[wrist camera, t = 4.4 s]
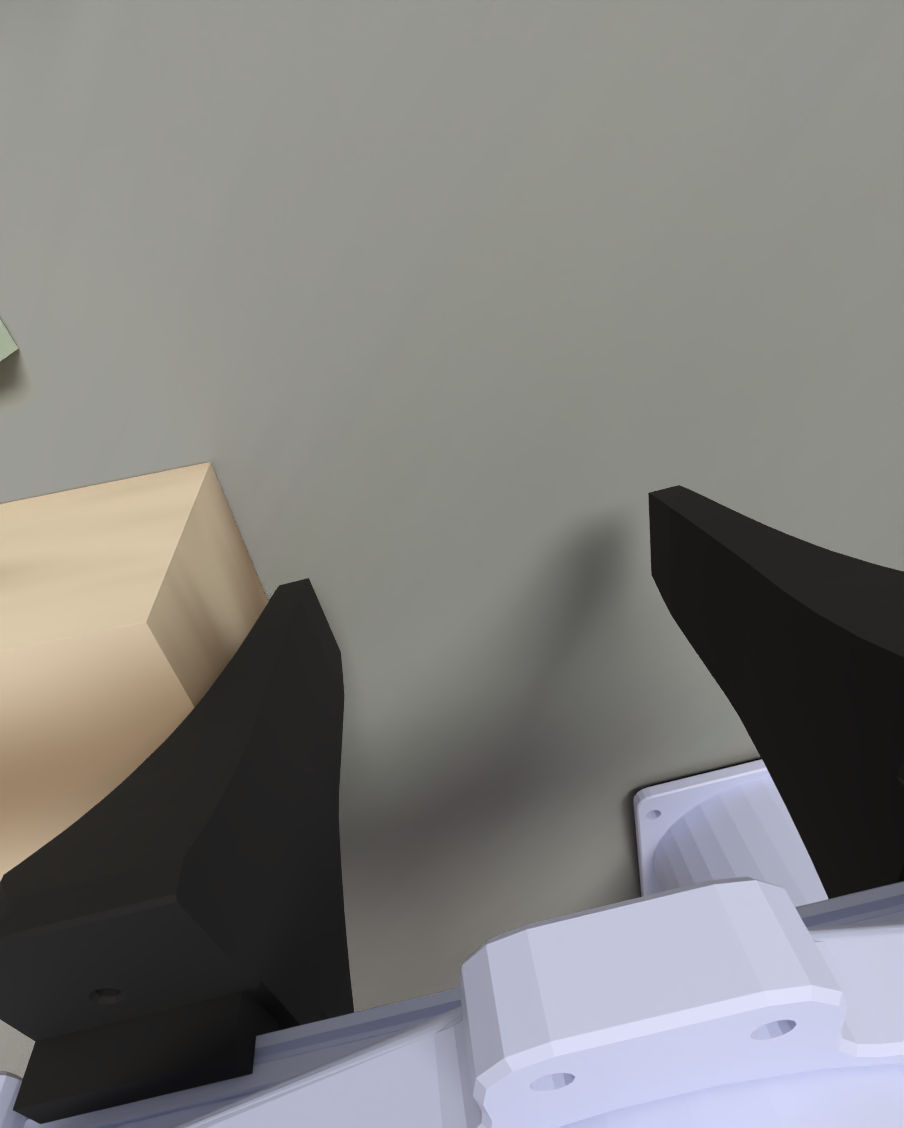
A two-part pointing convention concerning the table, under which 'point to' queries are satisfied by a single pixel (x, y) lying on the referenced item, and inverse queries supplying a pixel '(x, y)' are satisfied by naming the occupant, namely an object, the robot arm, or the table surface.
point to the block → (109, 636)
